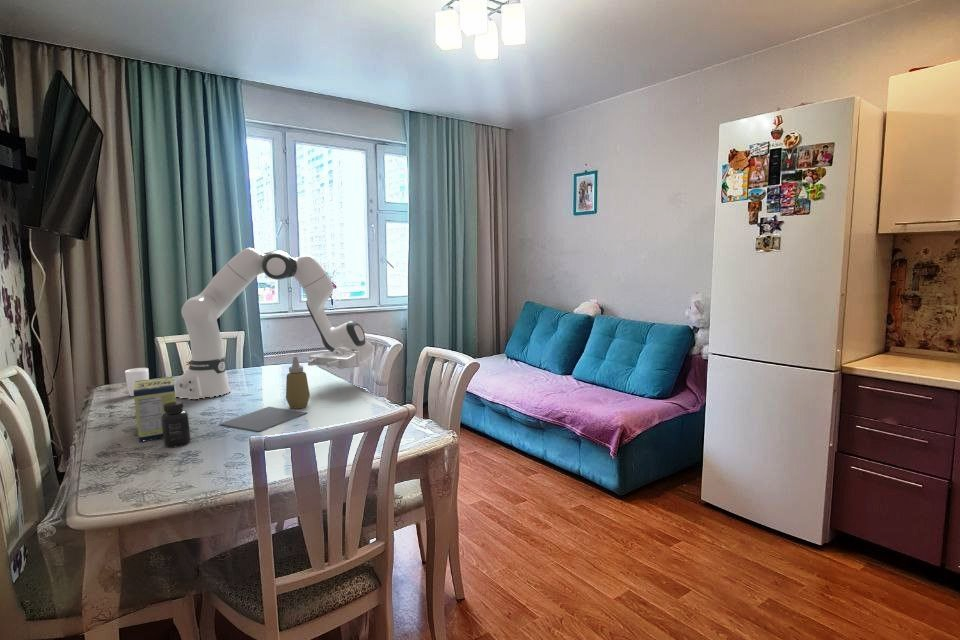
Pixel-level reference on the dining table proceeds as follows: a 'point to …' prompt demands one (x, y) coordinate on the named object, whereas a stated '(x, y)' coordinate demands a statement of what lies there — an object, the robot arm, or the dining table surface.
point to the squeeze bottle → (297, 386)
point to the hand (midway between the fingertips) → (318, 364)
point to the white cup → (135, 377)
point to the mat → (263, 419)
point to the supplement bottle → (175, 425)
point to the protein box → (152, 405)
